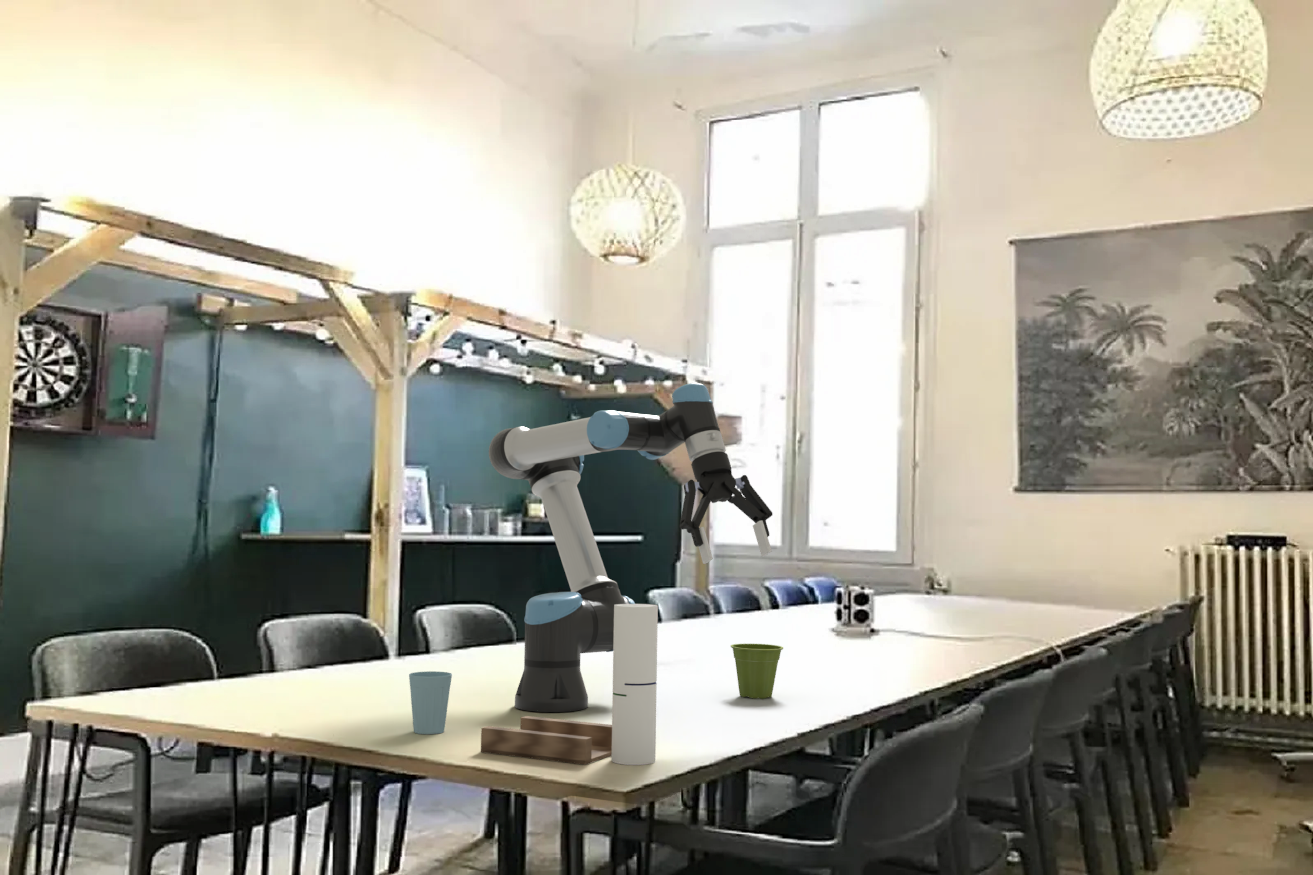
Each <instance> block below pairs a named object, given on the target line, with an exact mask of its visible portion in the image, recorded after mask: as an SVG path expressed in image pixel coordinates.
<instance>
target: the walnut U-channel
mask: <svg viewBox="0 0 1313 875" xmlns="http://www.w3.org/2000/svg"><path fill="white" fill-rule="evenodd" d="M519 727H520V729H518V728H511V727H510V728H508V727H499V726H492V725H491V726H490V725H488V726H483V727H480V728H481V729H480V732H481V733H480V753H483V754H486V753H487V754H493V755H501V756H502V755H503V756H509V757H516V758H517V757H519V758H528V759H535V760H543V761H549V762H558V763H559V762H560V763H568V764H577V765H582V766H583V765H584V766H586V765H589V764H591V763H594V762H597V761H599V760H603V759H605V758H608V757H611V756H612V724H609V723H608V724H607V723H600V722H599V723H598V722H588V721H580V720H579V721H578V720H571V719H569V720H567V719H558V718H551V717H550V718H549V717H539V716H530V715H525V716H522V717H520V726H519Z"/></svg>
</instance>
